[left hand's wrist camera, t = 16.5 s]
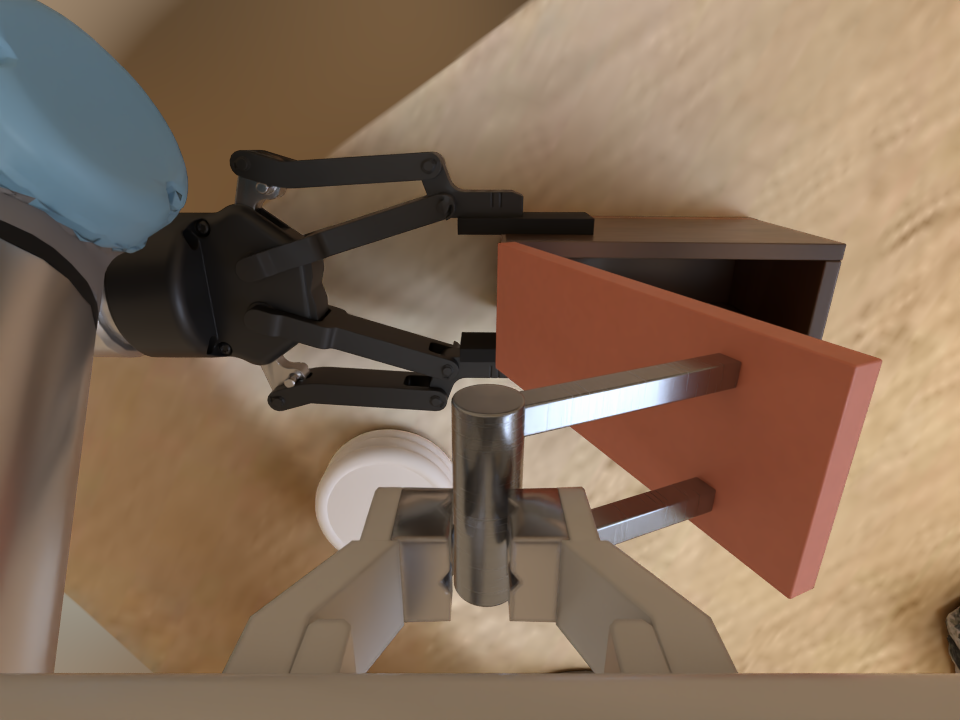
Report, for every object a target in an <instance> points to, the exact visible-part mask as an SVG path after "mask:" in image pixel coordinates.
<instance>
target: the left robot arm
mask: <svg viewBox="0 0 960 720" xmlns="http://www.w3.org/2000/svg"><path fill="white" fill-rule="evenodd" d="M506 514H507V525H506V573H507V575H508V603H509V617H510V621H530V622H556V625H557V626H558V628H559V629H560V630H561V631H562V633H563V634H564V635H565V636H566V638H567V639H568V640H569V641H570V643H571V644H572V645H573V646H574V648H575V649H576V650H577V651H578V653H579V654H580V655H581V656H582V658H583V659H584V660H585V662H586V663H587V664H588V665H589V667H590V668H591V669H592V670H593V672H594V673H366V672H367V671H368V670H369V668H370V667H371V666H372V665H373V663H374V662H375V661H376V660H377V658H378V657H379V656H380V655H381V653H382V652H383V651H384V649H385V648H386V647H387V646H388V644H389V643H390V642H391V641H392V639H393V638H394V637H395V636H396V634H397V633H398V632H399V631H400V629H401V628H402V627H403V626H404V622H429V621H450V620H451V605H452V576H453V575H454V550H455V529H454V524H453V516H454V493H453V488H420V487H404V488H402V487H378V488H377V489H376V490H375V493H374V496H373V499H372V502H371V505H370V509H369V512H368V515H367V518H366V521H365V525H364V528H363V531H362V534H361V537H360V540H352V541H351V542H349V543H348V544H347V545H345V546H344V547H343V548H341V549H340V550H339V551H337V552H336V553H335V554H333V555H332V556H331V557H329V558H328V559H327V560H325V561H324V562H323V563H321V564H320V565H319V566H317V567H316V568H315V569H313V570H312V571H311V572H309V573H308V574H307V575H305V576H304V577H303V578H301V579H300V580H299V581H297V582H296V583H295V584H293V585H292V586H291V587H289V588H288V589H287V590H285V591H284V592H283V593H281V594H280V595H279V596H277V597H276V598H275V599H273V600H272V601H271V602H269V603H268V604H267V605H265V606H264V607H263V608H261V609H260V610H259V611H257V612H256V613H254V614H253V615H252V616H250V618H249V620H248V622H247V624H246V626H245V628H244V630H243V632H242V634H241V636H240V638H239V640H238V642H237V644H236V646H235V648H234V650H233V652H232V654H231V656H230V658H229V660H228V662H227V664H226V666H225V668H224V670H223V672H222V673H0V720H960V673H738V672H737V670H736V668H735V666H734V664H733V662H732V660H731V658H730V656H729V654H728V652H727V650H726V648H725V646H724V644H723V642H722V640H721V638H720V636H719V633H718V631H717V629H716V627H715V625H714V623H713V621H712V619H711V617H709V616H708V615H707V614H705V613H704V612H703V611H701V610H700V609H699V608H697V607H696V606H695V605H693V604H692V603H691V602H689V601H688V600H687V599H685V598H684V597H683V596H681V595H680V594H679V593H677V592H676V591H675V590H673V589H672V588H671V587H669V586H668V585H667V584H665V583H664V582H663V581H661V580H660V579H659V578H657V577H656V576H655V575H653V574H652V573H651V572H649V571H648V570H647V569H645V568H644V567H643V566H641V565H640V564H639V563H637V562H636V561H635V560H633V559H632V558H631V557H629V556H628V555H627V554H625V553H624V552H623V551H621V550H620V549H619V548H617V547H616V546H615V545H613V544H612V543H611V542H609V541H608V540H600V537H599V534H598V531H597V528H596V524H595V521H594V518H593V515H592V512H591V509H590V505H589V502H588V499H587V496H586V493H585V490H584V488H582V487H559V488H530V489H507V494H506Z"/></svg>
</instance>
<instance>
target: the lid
mask: <svg viewBox="0 0 960 720" xmlns="http://www.w3.org/2000/svg"><path fill="white" fill-rule="evenodd" d="M881 364H882V360H881V359H879V358H876V357H873V356H870V355H867V354H863V353H860V352H857V351H854V350H851V349H848V348H845V347H842V346H839V345H835V344H832V343H829V342H826V341H823V340H820V339H817V338H814V337H810V336H807V335H804V334H801V333H798V332H795V331H792V330H789V329H785V328H782V327H779V326H776V325H773V324H770V323H767V322H764V321H760V320H757V319H754V318H751V317H748V316H745V315H742V314H739V313H735V312H732V311H729V310H726V309H723V308H720V307H717V306H714V305H710V304H707V303H704V302H701V301H698V300H695V299H692V298H689V297H685V296H682V295H679V294H676V293H673V292H670V291H667V290H664V289H660V288H657V287H654V286H651V285H648V284H645V283H642V282H639V281H635V280H632V279H629V278H626V277H623V276H620V275H617V274H614V273H610V272H607V271H604V270H601V269H598V268H595V267H592V266H589V265H586V264H582V263H579V262H576V261H573V260H570V259H567V258H564V257H561V256H557V255H554V254H551V253H548V252H545V251H542V250H539V249H536V248H532V247H529V246H526V245H523V244H520V243H517V242H506V243H498V270H497V321H496V369H498V370H499V371H500V372H502V373H503V374H504V375H505V376H507V377H508V378H509V379H510V380H512V381H513V382H514V383H516V384H517V385H518V386H519V387H521V388H522V389H523V390H524V391H517V390H515V389H513V388H510V387H507V386H503V385H496V384H479V385H473V386H469V387H465V388H463V389H461V390H459V391H457V392H456V393H455V394H454V396H453V398H452V401H451V406H452V480H453V493H454V516H453V524H454V529H455V550H454V586H455V589H456V591H457V593H458V594H459V595H460V597H461V598H463V599H464V600H465V601H467V602H468V603H470V604H473V605H476V606H482V607H492V606H497V605H500V604H502V603H504V602H506V601H508V575H507V573H506V525H507V514H506V494H507V489H522V480H523V456H524V437H526V436H530V435H534V434H539V433H543V432H547V431H552V430H556V429H560V428H565V427H569V426H570V427H571V428H573V429H574V430H575V431H576V432H578V433H579V434H580V435H582V436H583V437H584V438H585V439H587V440H588V441H589V442H590V443H592V444H593V445H594V446H595V447H597V448H598V449H599V450H601V451H602V452H603V453H604V454H606V455H607V456H608V457H609V458H611V459H612V460H613V461H615V462H616V463H617V464H618V465H620V466H621V467H622V468H623V469H625V470H626V471H627V472H628V473H630V474H631V475H632V476H634V477H635V478H636V479H637V480H639V481H640V482H641V483H642V484H644V485H645V486H646V487H648V488H649V489H650V490H651V491H649V492H646V493H643V494H639V495H636V496H633V497H630V498H626V499H623V500H620V501H617V502H613V503H610V504H607V505H604V506H600V507H597V508H594V509H591V512H592V515H593V518H594V521H595V524H596V528H597V531H598V534H599V537H600V540H608V541H609V542H611V543H612V544H613V545H616V544H619V543H622V542H624V541H627V540H630V539H633V538H636V537H639V536H642V535H645V534H647V533H650V532H653V531H656V530H659V529H662V528H665V527H668V526H670V525H673V524H676V523H679V522H682V521H685V520H689V521H691V522H692V523H693V524H694V525H696V526H697V527H698V528H700V529H701V530H702V531H703V532H705V533H706V534H707V535H708V536H710V537H711V538H712V539H714V540H715V541H716V542H717V543H719V544H720V545H721V546H722V547H724V548H725V549H726V550H727V551H729V552H730V553H731V554H733V555H734V556H735V557H736V558H738V559H739V560H740V561H741V562H743V563H744V564H745V565H747V566H748V567H749V568H750V569H752V570H753V571H754V572H755V573H757V574H758V575H759V576H760V577H762V578H763V579H764V580H766V581H767V582H768V583H769V584H771V585H772V586H773V587H774V588H776V589H777V590H778V591H780V592H781V593H782V594H783V595H785V596H786V597H787V598H789V599H791V598H793V597H795V596H798V595H800V594H802V593H804V592H806V591H808V590H810V589H813V588H814V585H815V582H816V579H817V575H818V572H819V569H820V565H821V562H822V559H823V555H824V552H825V549H826V546H827V542H828V539H829V536H830V532H831V529H832V526H833V522H834V519H835V516H836V513H837V509H838V506H839V503H840V499H841V496H842V493H843V489H844V486H845V483H846V480H847V476H848V473H849V470H850V466H851V463H852V460H853V456H854V453H855V450H856V447H857V443H858V440H859V437H860V433H861V430H862V427H863V423H864V420H865V417H866V414H867V410H868V407H869V404H870V400H871V397H872V394H873V390H874V387H875V384H876V381H877V377H878V374H879V371H880V367H881Z"/></svg>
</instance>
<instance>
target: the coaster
mask: <svg viewBox="0 0 960 720" xmlns="http://www.w3.org/2000/svg"><path fill="white" fill-rule="evenodd" d="M378 487H402V488H404V487H420V488H453V480H452V462H451V460H450V459H449V458H448V456H447V455H446V454H445V453H444V452H443V451H442V450H441V449H440V448H439V447H438V446H437V445H435V444H434V443H433V442H431V441H429V440H428V439H426V438H424V437H422V436H419V435H417V434H414V433H411V432H407V431H402V430H393V429H382V430H374V431H370V432H366V433H364V434H361V435H358V436H356V437H355V438H353V439H351V440H349V441H348V442H347V443H345V444H344V445H343V446H342V447H341V448H340V449H339V450H338V451H337V452H336V453H335V454H334V456H333V457H332V459H331V460H330V462H329V464H328V467H327V468H326V470H325V472H324V474H323V476H322V478H321V480H320V482H319V484H318V488H317V491H316V497H315V512H316V517H317V521H318V524H319V526H320V528H321V530H322V532H323V534H324V535H325V537H326V538H327V540H328V541H329V542H330V543H331V544H332V545H333V546H334V547H335V548H336V549H337V550H338V551H339V550H340V549H341V548H343V547H344V546H345V545H347V544H348V543H349V542H351V541H352V540H360V537H361V534H362V531H363V528H364V525H365V521H366V518H367V515H368V512H369V509H370V505H371V502H372V499H373V496H374V493H375V490H376V489H377V488H378Z"/></svg>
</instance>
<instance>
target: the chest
mask: <svg viewBox="0 0 960 720" xmlns="http://www.w3.org/2000/svg"><path fill="white" fill-rule="evenodd" d="M591 217H593V218H594V219H595V221H594V234H593V235H553V234H505V235H501V243H506V242H517V243H520V244H523V245H526V246H529V247H532V248H536V249H539V250H542V251H545V252H548V253H551V254H554V255H557V256H561V257H564V258H567V259H570V260H573V261H576V262H579V263H582V264H586V265H589V266H592V267H595V268H598V269H601V270H604V271H607V272H610V273H614V274H617V275H620V276H623V277H626V278H629V279H632V280H635V281H639V282H642V283H645V284H648V285H651V286H654V287H657V288H660V289H664V290H667V291H670V292H673V293H676V294H679V295H682V296H685V297H689V298H692V299H695V300H698V301H701V302H704V303H707V304H710V305H714V306H717V307H720V308H723V309H726V310H729V311H732V312H735V313H739V314H742V315H745V316H748V317H751V318H754V319H757V320H760V321H764V322H767V323H770V324H773V325H776V326H779V327H782V328H785V329H789V330H792V331H795V332H798V333H801V334H804V335H807V336H810V337H814V338H817V339H820V340H822V336H823V332H824V328H825V324H826V321H827V317H828V313H829V309H830V305H831V301H832V297H833V293H834V289H835V285H836V281H837V277H838V273H839V269H840V265H841V260H842V259H843V255H844V251H845V247H846V244H844V243H841V242H837V241H833V240H829V239H826V238H822V237H818V236H815V235H811V234H807V233H804V232H800V231H796V230H793V229H789V228H785V227H782V226H778V225H774V224H771V223H767V222H763V221H759V220H757V219H754V218H738V217H634V216H591Z"/></svg>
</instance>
